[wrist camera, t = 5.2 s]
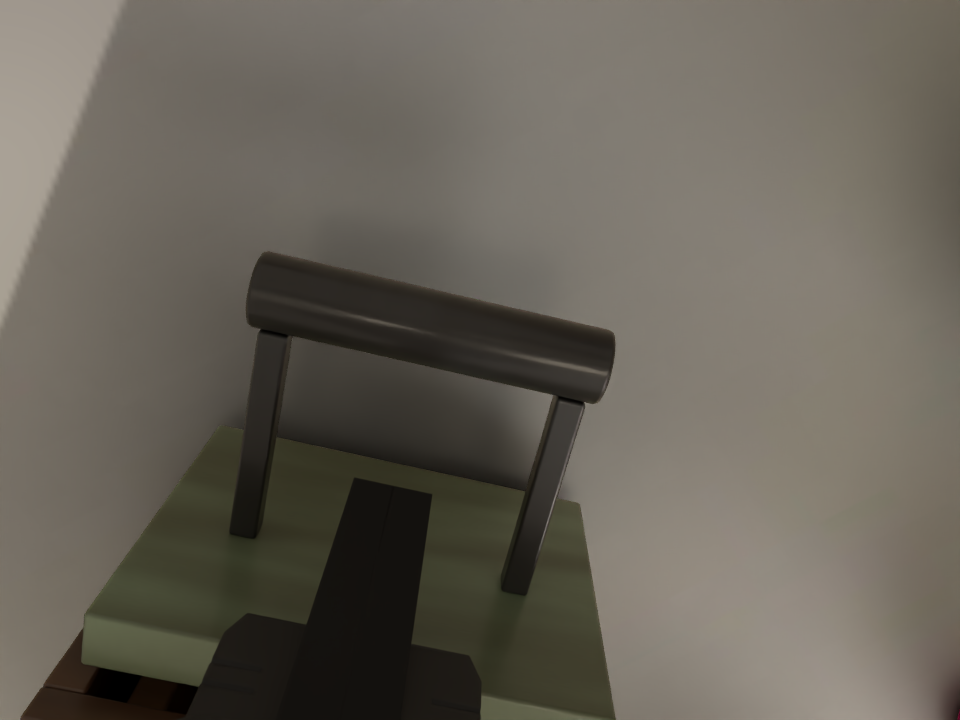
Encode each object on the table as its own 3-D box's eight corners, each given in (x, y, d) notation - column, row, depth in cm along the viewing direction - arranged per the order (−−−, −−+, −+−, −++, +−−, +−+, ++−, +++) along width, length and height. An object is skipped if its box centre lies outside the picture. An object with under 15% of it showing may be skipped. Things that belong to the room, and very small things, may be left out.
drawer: (249, 192, 20) (107, 283, 13) (650, 286, 21) (731, 426, 13) (173, 768, 27) (50, 1043, 19) (476, 826, 27) (467, 1114, 20)
